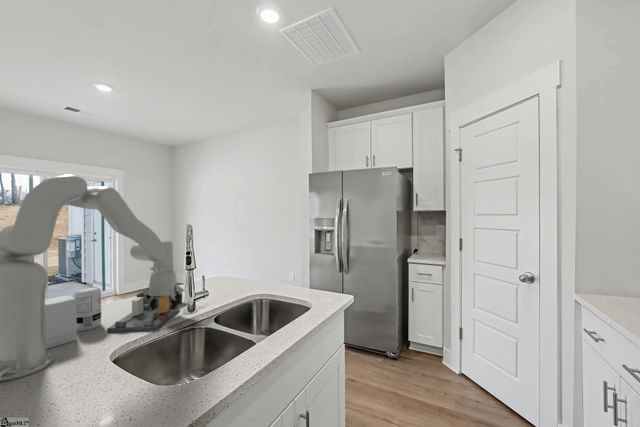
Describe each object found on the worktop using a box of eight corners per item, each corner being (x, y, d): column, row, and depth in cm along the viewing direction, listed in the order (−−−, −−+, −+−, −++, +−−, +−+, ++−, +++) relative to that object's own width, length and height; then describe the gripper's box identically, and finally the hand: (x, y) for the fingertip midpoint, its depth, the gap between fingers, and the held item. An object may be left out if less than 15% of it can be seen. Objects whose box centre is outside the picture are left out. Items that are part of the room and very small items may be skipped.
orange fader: (164, 312, 118) (164, 297, 118) (158, 313, 118) (158, 298, 118) (169, 309, 122) (168, 294, 122) (163, 309, 122) (162, 295, 122)
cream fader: (138, 315, 115) (138, 299, 115) (132, 315, 115) (131, 300, 115) (143, 311, 119) (143, 296, 119) (137, 312, 119) (137, 297, 119)
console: (157, 329, 105) (157, 320, 105) (107, 332, 103) (107, 323, 103) (179, 310, 126) (178, 302, 126) (137, 312, 124) (137, 304, 124)
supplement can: (70, 329, 107) (69, 291, 107) (95, 321, 114) (94, 285, 114) (80, 333, 103) (79, 293, 103) (105, 325, 110) (104, 288, 110)
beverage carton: (147, 301, 140) (147, 288, 140) (183, 302, 138) (183, 289, 138) (135, 307, 132) (135, 293, 132) (173, 308, 130) (173, 294, 130)
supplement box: (77, 340, 98) (77, 298, 97) (42, 350, 90) (42, 305, 90) (69, 333, 103) (68, 294, 102) (35, 343, 95) (35, 301, 95)
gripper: (137, 271, 115) (138, 313, 115) (180, 270, 117) (181, 311, 117) (146, 267, 122) (147, 306, 123) (187, 266, 124) (187, 305, 125)
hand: (164, 308), depth 120 cm, fingers open, 7 cm apart
